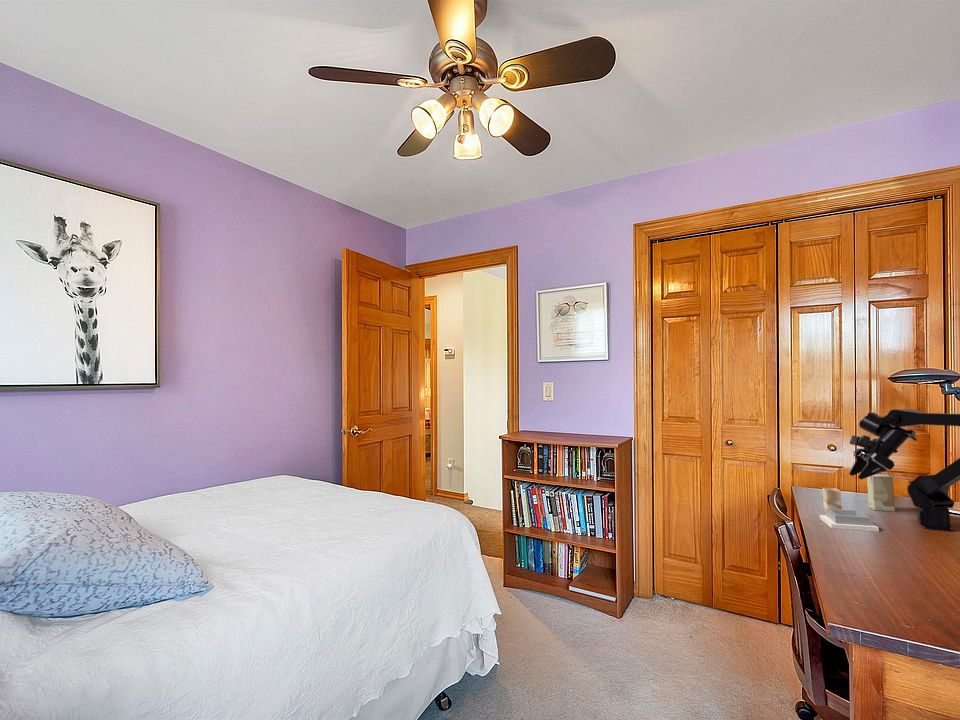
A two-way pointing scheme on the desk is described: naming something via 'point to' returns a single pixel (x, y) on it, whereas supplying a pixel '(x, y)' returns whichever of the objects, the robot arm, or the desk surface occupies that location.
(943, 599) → the desk surface
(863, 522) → the square tray
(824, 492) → the block
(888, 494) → the skincare box
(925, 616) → the desk surface
